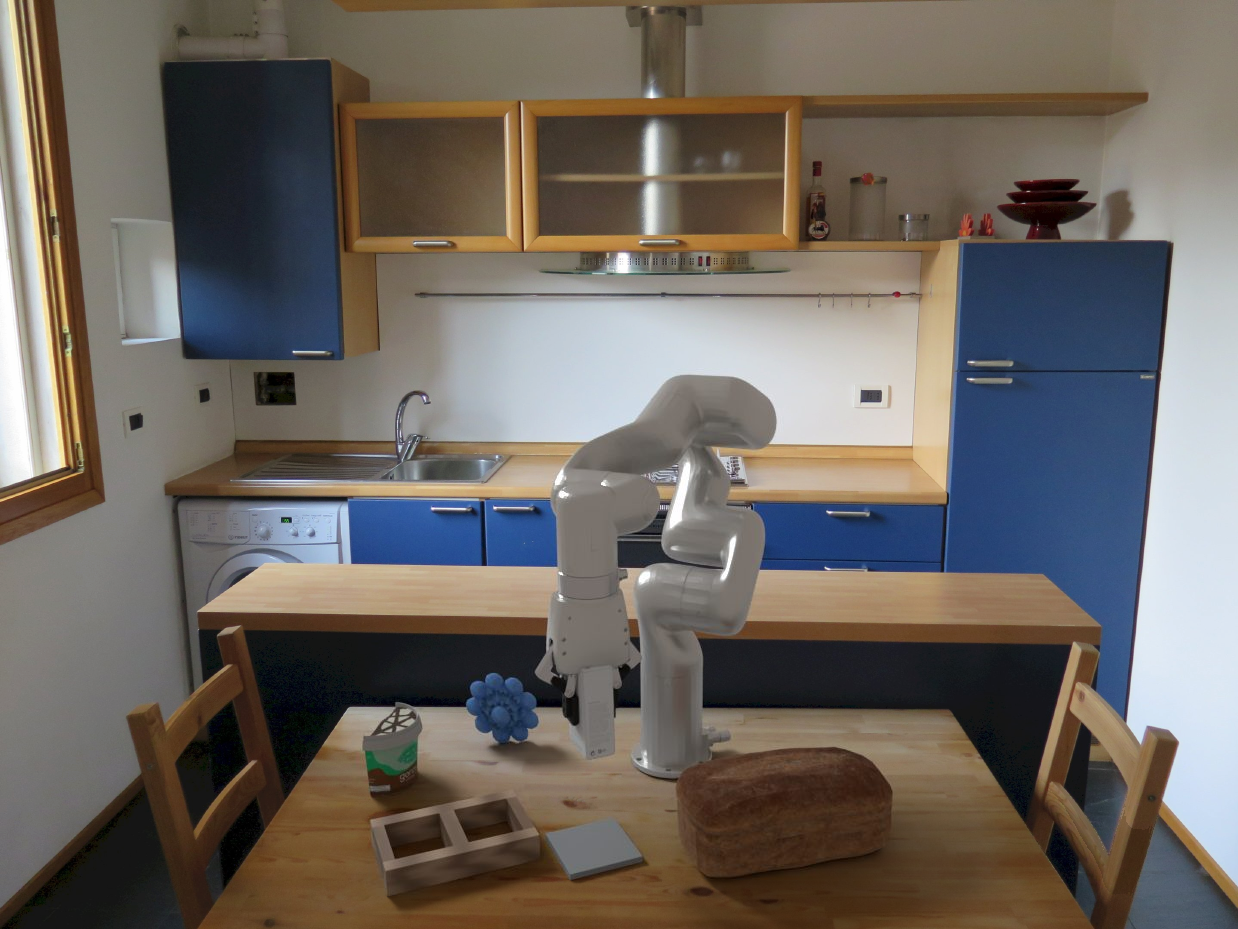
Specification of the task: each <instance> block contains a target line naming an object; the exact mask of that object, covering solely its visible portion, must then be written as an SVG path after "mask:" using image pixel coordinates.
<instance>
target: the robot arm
mask: <svg viewBox="0 0 1238 929" xmlns="http://www.w3.org/2000/svg"><path fill="white" fill-rule="evenodd" d="M777 422H778V421H777V413H776V410H775V407H774V404H773V403H772V401H771V399H770V398H769V397H768V396H767V395H766V394H764V393H763V392H761V391H760V390H759V389H758V388H756V387H755V386H754V385H753V384H751V383H750V382H747V381H746V380H743V378H739V377H734V376H729V375H707V374H706V375H705V374H704V375H703V374H679V375H674V376H672V377H670V378H669V379H667V380H666V381H665V382H663V383H662V385H661V386H660V388H659V389H658V390H657V391H656V392H655V394H653V396H652V398H651V399H650V400H649V402H648V403H647V404H646V405H645V407H644V408H643V410H642V411H641V412H640V413H639V415H638V416H637V417H636V419H635V420H634V421H633V422H631V423H628V424H625V425H622V426H620V427H618V428H615V429H612V430H610V431H609V432H606V433H604V434H602V435H600V436H598V437H597V436H596V437H595V438H593V439H591V440H589V441H587V442H586V443H584V444H583V445H582V446H580V447H579V448H578V449H577V450H576V451H574V453H573V454H572V455H571V456H570V457H569V459H567V461H566V462H565V464H564V465H563V466H562V468H561V469H560V471H559V472H558V473H557V476H556V477H555V478H554V481H553V483H552V487H551V489H550V490H551V491H550V500H549V501H550V502H549V503H550V507H551V510H552V512H553V514H554V515H555V518H556V520H555V522H556V526H555V527H556V554H557V556H556V558H557V560H556V561H557V564H556V565H557V590H556V591H554V592H552V593H551V597H550V602H549V608H548V616H547V627H546V642H545V643H546V652H545V654H544V656H543V658H542V659H541V660H540V662H539V664H538V666H537V667H536V669H535V670H534V675H536V677H537V679H539V680H541V681H543V682H545V683H547V684H549V685H552V687H554V688H555V689H556V690H558V691H559V692H560V693H561V710H562V714H563V715H562V716H563V717H564V718H565V719H567V720H568V723H569V722H570V723H571V724H572V725H573V726H577V725H578V724H579V709H578V697H577V695H576V694H575V686H576V681H577V676H578V674H579V673H580V670H581V669H584V668H589V667H596V666H602V665H611V666H612V674H613V700H614V719H616V717H617V715H616V714H617V711H616V710H617V709H619V689H620V688H621V687H622V685H623V681H624V680H625V678H627V676H628V675H629V674H630V673H631V671H632V669H633V668H635V667H636V666H637V665H638V664H639V663H640V740H639V741H638V742H637V743H635V744H634V746H633V747H632V748H631V753H630V756H631V757H630V759H631V763H632V764H633V765H634V767H635V768H636V769H638V770H639V771H641V772H643V773H644V774H646V775H649V776H653V777H657V778H660V779H661V778H663V779H678V778H679V776H680V774H681V773H682V772H683V771H684V770H686V769H687V768H689V767H691V766H694V765H697V764H700V763H703V762H706V761H710V760H713V752H712V749H711V748H710V747H713V746H714V744H717V743H720V744H721V743H726V742H729V741H730V740H731V737H732V736H731V731H730V730H729V729H728V728H722V729H718V730H717V729H716V726H715V725H713V724H711V725H706V726H704V727H703V690H704V689H703V682H704V681H703V679H704V677H703V676H704V675H703V674H704V673H703V672H704V671H703V670H704V669H703V668H704V667H703V666H704V656H703V651H702V648H701V644H700V642H699V639H698V637H697V636H696V634H695V632H696V633H701V634H702V633H703V634H709V635H715V636H724V637H729V636H730V637H731V636H735V635H737V634H738V633H740V632H741V631H742V629H743V628H744V626H745V624H746V622H747V619H748V616H749V612H750V610H751V606H752V601H753V596H754V592H755V589H756V584H757V580H758V576H759V574H760V568H761V564H762V561H763V556H764V551H765V545H766V529H765V528H766V527H765V524H764V521H763V519H762V517H761V515H760V514H759V513H758V512H757V511H755V510H753V509H750V508H748V507H744V506H735V505H727V503H728V499H729V495H730V491H731V487H732V483H731V482H732V481H731V478H730V476H729V473H728V471H727V469H726V466H724V464H723V462H722V461H721V460H720V458H719V457H718V456H717V454H716V453H715V451H714V450H713V448H712V447H714V448H715V447H716V448H723V449H724V448H726V449H738V450H739V449H740V450H751V451H753V450H754V451H755V450H762V449H764V448H766V447H767V446H769V445H770V444H771V442H772V441H773V439H774V437H775V434H776V431H777V424H778V423H777ZM676 465H678V466H677V467H678V473H677V474H678V475H677V479H676V483H675V488H674V490H673V495H672V498H671V502H670V504H669V506H668V510H667V514H666V517H665V521H664V523H663V528H662V533H661V539H660V540H661V544H660V545H661V548H662V550H663V552H664V554H665V555H667V556H668V557H669V558H671V559H672V560H673V559H674V560H675V561H679V562H684V563H690V564H693V565H688V564H687V565H686V564H680V563H671V562H670V563H669V562H660V563H659V562H658V563H653V564H650V565H648V566H646V567H644V568H643V569H642V570H640V572H639V573H638V575H637V577H636V578H635V581H634V586H633V604H634V608H635V614H636V619H637V625H638V630H639V631H638V632H639V643H640V645H639V646H640V652H639V650H638V649H637V647H636V646H635V645H634V644H633V643H632V641H631V636H630V625H629V618H628V611H627V606H626V605H627V604H626V601H625V596H624V592H623V590H622V589H621V588H620V583H621V581H623V580H627V579H628V577H629V573H628V570H627V568H621V567H619V566H618V561H619V560H618V558H619V557H618V552H619V551H618V537H620V536H623V535H628V534H633V533H634V534H635V533H638V532H640V531H643V530H644V529H646V528H648V527H649V526H650V525H651V524H652V522H653V521H654V520H655V519H656V517H657V515H658V513H659V509H660V506H661V496H660V492H659V489H658V487H657V485H656V484H655V482H653V480H651V479H650V478H648V477H646V476H644V475H649V474H653V473H659V472H660V471H664V470H665V471H666V470H668V469H671V468H672V467H674V466H676ZM695 565H702V566H703V565H704V566H711V567H718V568H723V569H722V570H721V569H715V568H705V567H698V566H695ZM554 665H555V669H556V672H557V673H558V674H559V675H558V674H557V673H555V672H552V671H551V670H552V668H553V667H554Z"/></svg>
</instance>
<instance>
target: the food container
mask: <svg viewBox="0 0 1238 929" xmlns="http://www.w3.org/2000/svg"><path fill="white" fill-rule="evenodd" d="M394 705H395V709H393V711H392V713H390V714H389V715H388V716H386V717H384V719H382V720H381V721H380V723H378V725H377V726H376V728H375V730H374V731H373V732H372V733H371V734H370V735H363V736H362V738H363V740H362V751H364V756H365V761H366V762H365V763H366V765H365V766H366V771H367V780H368V786H369V787H368V788H369V796H370V795H371V796H372V797H374V796H375V797H381V796H382V795H384V796H391V795H394V793H395V794H398V792H399V793H401V792H403V791H405V789H406V790H408V789H409V788H411V787H412V786H413V785H414V784H415V783H416V781H417V779H418V756H419V755H418V751H419V750H418V749H419V745H418V743H419V735H420V734H421V733H422V731H423V723H422V720H421V716H420V714H419V713H418V710H417V709H416V708H415V707H414V706H411V705H410V704H407V703H403V702H399V701H397V702H395V703H394Z"/></svg>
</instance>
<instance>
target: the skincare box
mask: <svg viewBox="0 0 1238 929" xmlns="http://www.w3.org/2000/svg"><path fill="white" fill-rule="evenodd" d="M575 694H576V695H577V697H578V709H579V724H578V725H577V726H573V725H572V724H571V723H570V722H569V721H568V728H569V732H568V734H569V742H570V743H571V744H572V745H573V747H575V749H577V751H578V752H579V753H580V754H581V755H582V757H584V759H585V760H587V761H589V760H591V761H592V760H597V759H601V758H606V757H609V756H613V755H615V753H616V739H615V737H616V736H615V735H616V734H615V731H616V730H615V718H614V700H613V674H612V666H611V665H602V666H596V667H589V668H584V669H581V670H580V673H579V674H578V676H577V681H576V686H575Z"/></svg>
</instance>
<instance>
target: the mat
mask: <svg viewBox="0 0 1238 929" xmlns="http://www.w3.org/2000/svg"><path fill="white" fill-rule="evenodd" d="M544 836H545V841H546V842H547V845H548V846H549V847H550V848H551V850H552V852H553V854H554V856H555V857H556V859H557V861H558V862H559V864H560V866H561V868H563V871H564V873H565V874H566V875H567V877H568V879H569V881H573V880H576V879H580V878H583V877H588V876H593V875H596V874H599V873H600V874H601V873H604V872H608V871H612V870H616V869H620V868H623V867H626V866H631V865H635V864H639V863H643V862H644V861H643V860H644V857H643V854H642V853H641V852H640V851H639V848H637V846H636V845H635V843H633V841H632V840H631V839H630V837H629V836H628V834H627V833H626V832H625V830H624V829H623V827H622V826H621V825H620V824H619V822H618V821H617V820H616V818H615V817H609V818H607V819H606V818H605V819H602V820H597V821H593V822H588V823H584V824H579V825H575V826H572V827H566V828H562V829H558V830H554V831H550V832H545V834H544Z"/></svg>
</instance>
